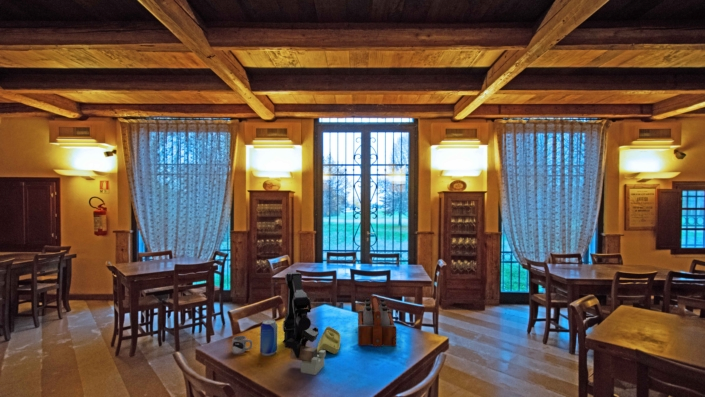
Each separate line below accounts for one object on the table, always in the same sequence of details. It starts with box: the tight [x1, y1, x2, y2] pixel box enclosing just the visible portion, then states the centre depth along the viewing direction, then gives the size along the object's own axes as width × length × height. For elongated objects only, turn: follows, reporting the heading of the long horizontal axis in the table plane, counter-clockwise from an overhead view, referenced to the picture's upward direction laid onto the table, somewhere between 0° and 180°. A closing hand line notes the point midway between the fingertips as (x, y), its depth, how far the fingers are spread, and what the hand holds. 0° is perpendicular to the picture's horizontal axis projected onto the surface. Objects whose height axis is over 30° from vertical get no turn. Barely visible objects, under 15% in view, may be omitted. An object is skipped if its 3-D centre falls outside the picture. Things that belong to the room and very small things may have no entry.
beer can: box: [259, 318, 278, 357], centre depth 165 cm, size 8×8×16 cm
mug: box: [231, 335, 253, 355], centre depth 167 cm, size 10×7×7 cm, turn 94°
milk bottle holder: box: [357, 295, 397, 347], centre depth 190 cm, size 21×35×19 cm, turn 179°
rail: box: [290, 345, 318, 362], centre depth 151 cm, size 12×4×5 cm, turn 71°
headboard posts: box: [300, 349, 327, 376], centre depth 149 cm, size 8×10×7 cm
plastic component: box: [316, 326, 342, 355], centre depth 174 cm, size 20×7×10 cm
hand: (300, 356), depth 152 cm, fingers closed on rail, 4 cm apart
